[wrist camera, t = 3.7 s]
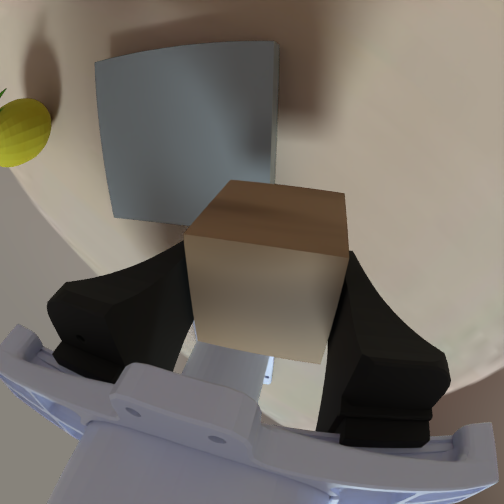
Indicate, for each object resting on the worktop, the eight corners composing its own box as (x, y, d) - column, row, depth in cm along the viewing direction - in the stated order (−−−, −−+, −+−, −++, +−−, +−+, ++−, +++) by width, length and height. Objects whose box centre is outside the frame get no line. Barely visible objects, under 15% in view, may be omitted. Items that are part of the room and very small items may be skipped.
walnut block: (327, 285, 15) (320, 364, 11) (231, 270, 16) (197, 340, 12) (344, 193, 12) (349, 257, 8) (230, 179, 13) (183, 234, 9)
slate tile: (272, 221, 21) (267, 235, 20) (127, 206, 24) (114, 217, 22) (279, 44, 15) (273, 41, 13) (112, 60, 17) (94, 62, 15)
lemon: (51, 166, 23) (-30, 216, 15) (23, 125, 21) (-57, 163, 13) (82, 119, 20) (-17, 162, 12) (51, 74, 18) (-46, 102, 10)
